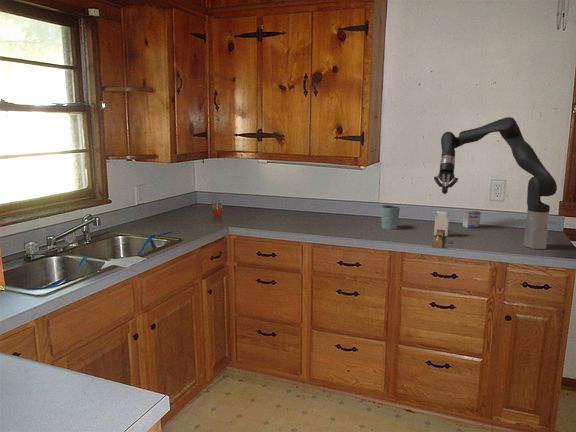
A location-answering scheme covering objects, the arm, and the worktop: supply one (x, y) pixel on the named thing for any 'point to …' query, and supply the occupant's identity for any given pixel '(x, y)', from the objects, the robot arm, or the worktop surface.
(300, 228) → the worktop surface
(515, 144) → the robot arm
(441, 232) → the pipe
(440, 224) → the beige rectangular block
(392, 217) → the grey-green cup
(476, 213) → the medicine box
